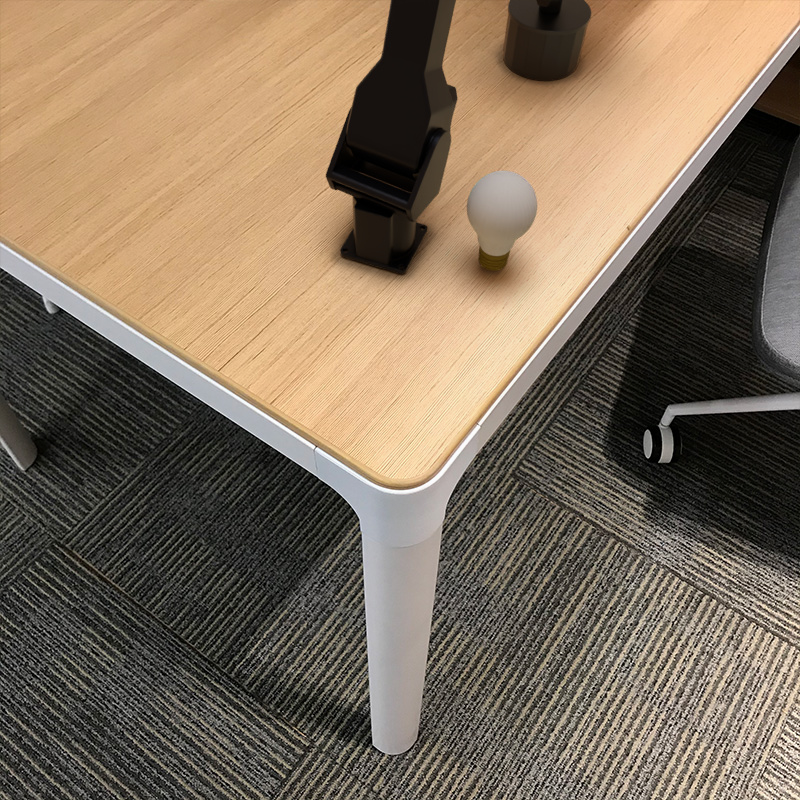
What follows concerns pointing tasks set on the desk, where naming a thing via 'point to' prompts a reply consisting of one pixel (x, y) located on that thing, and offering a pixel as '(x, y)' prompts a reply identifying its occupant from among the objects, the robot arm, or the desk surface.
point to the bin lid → (550, 16)
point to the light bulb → (500, 215)
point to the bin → (541, 52)
